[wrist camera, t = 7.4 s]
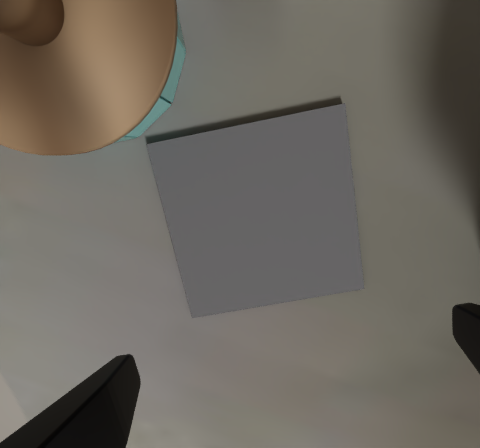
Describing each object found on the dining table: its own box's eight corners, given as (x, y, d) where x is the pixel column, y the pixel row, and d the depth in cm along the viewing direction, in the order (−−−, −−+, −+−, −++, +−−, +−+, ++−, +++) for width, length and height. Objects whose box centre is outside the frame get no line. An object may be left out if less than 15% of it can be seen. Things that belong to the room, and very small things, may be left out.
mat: (342, 104, 18) (345, 103, 18) (361, 286, 21) (364, 288, 20) (148, 144, 19) (146, 144, 18) (193, 314, 22) (192, 318, 21)
